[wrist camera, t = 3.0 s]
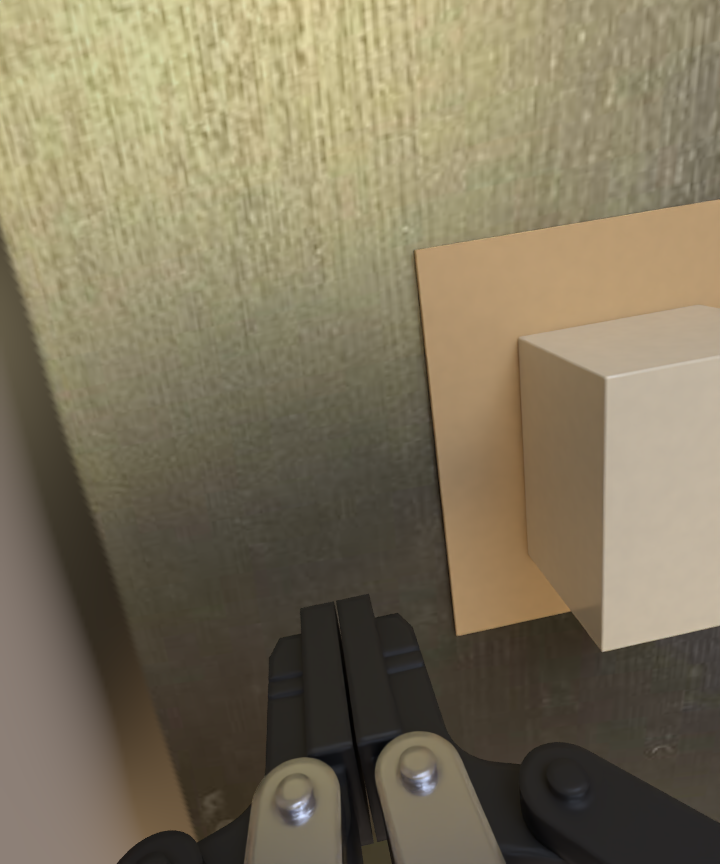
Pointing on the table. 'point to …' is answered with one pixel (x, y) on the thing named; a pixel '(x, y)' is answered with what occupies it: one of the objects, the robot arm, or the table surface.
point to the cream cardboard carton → (626, 471)
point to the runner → (500, 375)
